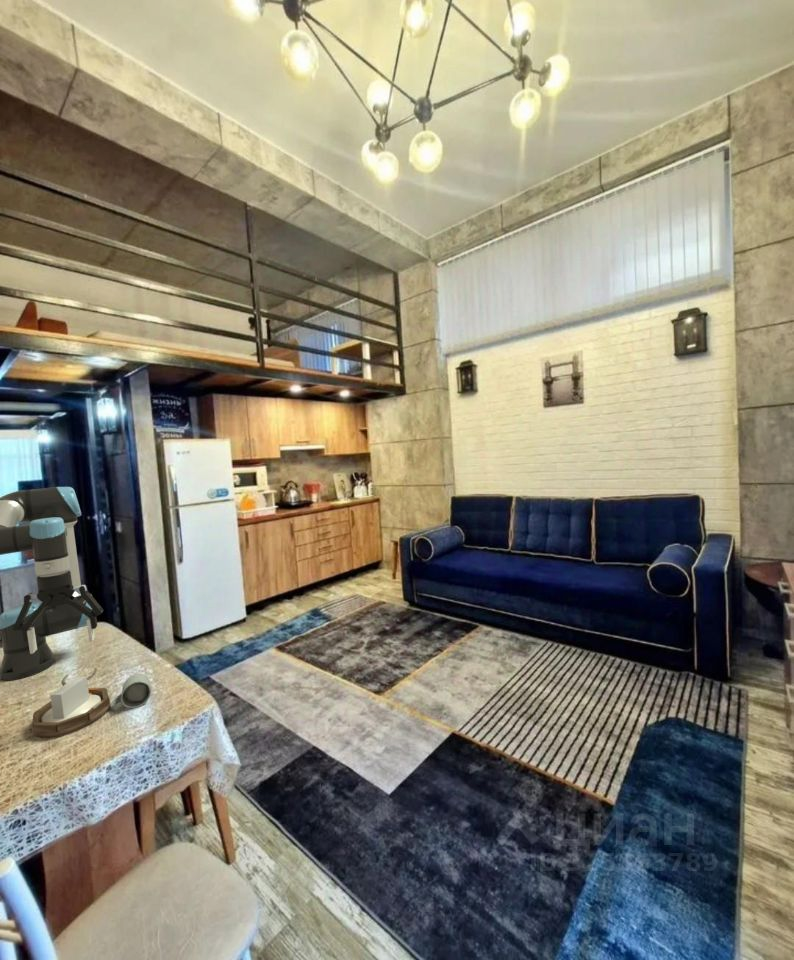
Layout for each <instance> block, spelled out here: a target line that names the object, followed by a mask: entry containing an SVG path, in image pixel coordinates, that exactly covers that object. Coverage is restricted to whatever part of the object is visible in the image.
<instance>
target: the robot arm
mask: <svg viewBox="0 0 794 960" xmlns="http://www.w3.org/2000/svg"><path fill="white" fill-rule="evenodd" d="M81 516H82V511H81V508H80V504H79V500H78V498H77V495H76V492H75V489H74V488H73V487H71V486H54V487H46V488H45V487H43V488H36V489H33V488H32V489H23V490H17V491H13V492H9V493H7V494H5V495H2V496H0V556H2V555H8V554H14V553H22V552H28V551H32V553H33V562H34V564H33V565H34V568H35V569H34V570H35V575H36V576H37V577H36V584H37V591H38V592H37V593H33V592H29V593H27V594H26V595H25V596H23V603H21V604H18V605H15V606H13V607H11V608H9V609H7V610H5V611H3V612H2V613H1V614H0V636H1V644H2V650H3V657H2V660H1V664H0V680H3V681H13V680H19V679H24V678H28V677H30V676H33V675H36V674H39V673H41V672H43V671H45V670H47V669H49V668H50V667H52V666H53V665H54V664H55V662H56V657H55V653H54V652H53V651H52V649H51V648H50V646H49V645H48V643H47V639H46V638H47V637H48V636H52V635H53V636H54V635H56V634H60V633H64V632H68V631H73V630H78V629H80V628H84V627H87V634H88V642H89V643H91V642H93V641H94V639H95V638H96V637H95V630H94V629H97V627H98V619H97V617H98V616H100V615H102V613H103V612H104V608H103V607H102V606H101V605H100V604H99V603H98V602H97V600H96V599H95V597H93V595H92V593H90V592H89V590H88V586H87V585H86V583H83V584H82V583H81V575H80V568H79V560H78V559H79V558H78V554H77V553H78V552H77V545H76V537H75V528H74V526H75V525H76V524H77V522H78V517H81ZM23 523H24V524H23ZM25 523H29V524H25ZM18 524H22V525H18ZM36 599H38V600H36Z"/></svg>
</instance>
